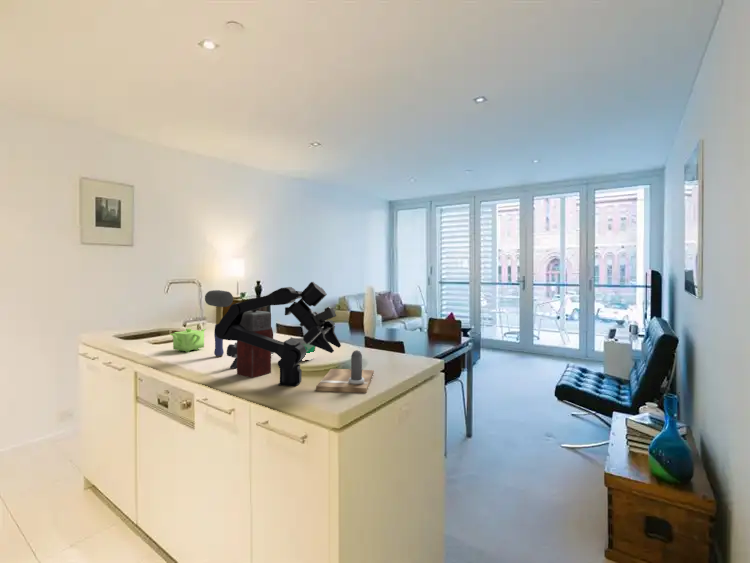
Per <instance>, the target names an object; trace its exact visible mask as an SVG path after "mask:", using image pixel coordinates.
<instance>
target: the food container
mask: <svg viewBox="0 0 750 563" xmlns="http://www.w3.org/2000/svg"><path fill="white" fill-rule="evenodd" d="M289 339H293V340H294V341H297V342H301V343H300V344H302V345H304V346H305V348H306V353H310V352H314V351H315V352H316V348H317V347H316V346H313V345H310V343H311V342H312V340H311V342H310V343H308V344H306V343H305V341H304V340H303V337H300V338H299V337H298V338H297V337H292V336H290V338H289Z"/></svg>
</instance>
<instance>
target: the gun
mask: <svg viewBox="0 0 750 563" xmlns="http://www.w3.org/2000/svg"><path fill="white" fill-rule="evenodd" d="M226 348H227V349H226V356H228V357H231V358H232V359H234V360H232V361H233V362H232V363H231V364H230V367H229V368H230V369H237V342H235V343H233V344H231V343H229V344H228V346H227V347H226ZM271 354H273V355H274V353H273V352H271Z"/></svg>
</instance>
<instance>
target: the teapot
mask: <svg viewBox="0 0 750 563" xmlns="http://www.w3.org/2000/svg"><path fill="white" fill-rule="evenodd" d="M206 330H207V328H203V329H201V330H197V329H196V330H195V329H192V328H186V329H185V330H183V331H176V332H173V333H170V334H169V335H170V336H172V338H173V339H172V349H173V350H175V351H176V350H178V352H185V353H191V351H192V350H194V351H200V349H202V348H205V331H206Z"/></svg>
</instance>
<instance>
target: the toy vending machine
mask: <svg viewBox="0 0 750 563" xmlns="http://www.w3.org/2000/svg"><path fill="white" fill-rule="evenodd" d="M240 325H242V326H243V327H244V328H245V329H246V330H249V331H252V332H255V333H258V334H261V335H263V336H266V337H269V338H272V339H274V332H273V327H272V313H271V312H270V311H264V310H263V311H262V310H260V308H259V309H255V310H251V311H248V312H244V314H243V316H242V320H241V323H240ZM236 343H237V368H236V375H237V376H243V377H247V378H250V379H251V378H252V379H254V378H258V377H261V376H265V375H268V374H272V355H271V352H270V351H267V350H265V349H262V348H259V347H256V346H253V345H250V344H247V343H244V342H241V341H236Z"/></svg>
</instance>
